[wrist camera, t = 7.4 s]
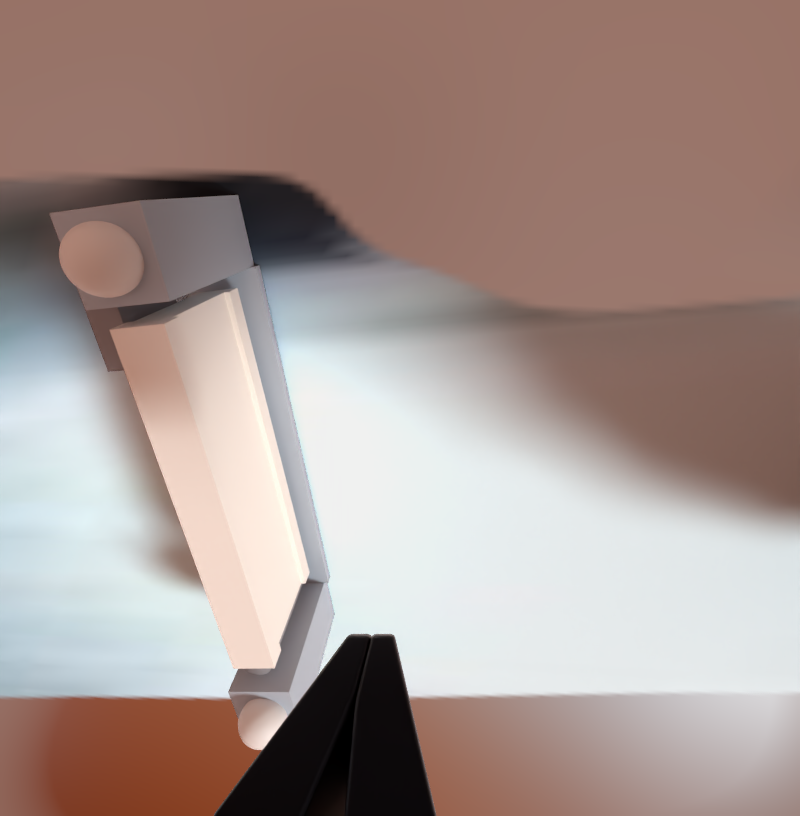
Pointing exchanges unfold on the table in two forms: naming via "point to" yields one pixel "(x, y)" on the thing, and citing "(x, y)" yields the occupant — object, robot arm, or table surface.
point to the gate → (220, 465)
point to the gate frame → (234, 268)
